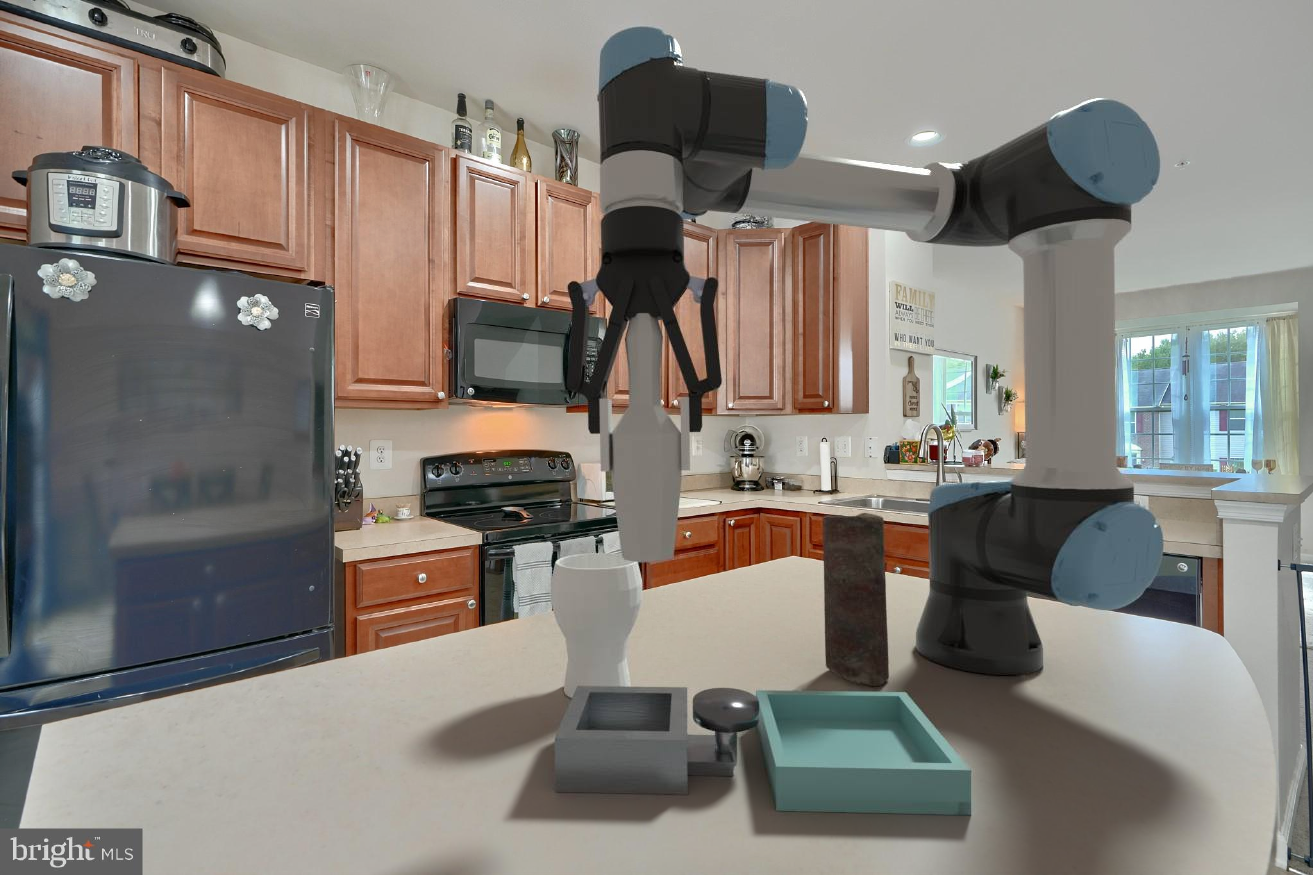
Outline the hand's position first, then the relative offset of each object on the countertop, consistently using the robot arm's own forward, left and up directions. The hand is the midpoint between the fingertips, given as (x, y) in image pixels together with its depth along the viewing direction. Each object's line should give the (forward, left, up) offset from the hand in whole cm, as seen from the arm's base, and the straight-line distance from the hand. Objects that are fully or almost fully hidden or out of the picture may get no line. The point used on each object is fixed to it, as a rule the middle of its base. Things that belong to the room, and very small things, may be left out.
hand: (646, 469), depth 58 cm
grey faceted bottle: (0, 0, -8) cm, 8 cm away
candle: (-24, -21, -27) cm, 42 cm away
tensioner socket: (-1, 0, -26) cm, 27 cm away
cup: (+7, -16, -27) cm, 32 cm away
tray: (-18, 0, -26) cm, 32 cm away
